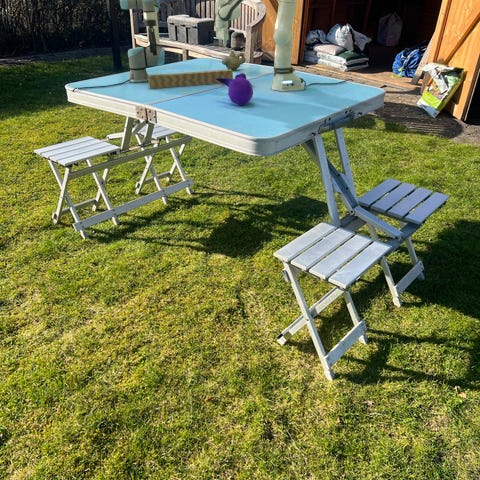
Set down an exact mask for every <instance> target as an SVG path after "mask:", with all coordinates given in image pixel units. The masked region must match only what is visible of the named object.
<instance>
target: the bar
mask: <svg viewBox="0 0 480 480" xmlns="http://www.w3.org/2000/svg"><path fill="white" fill-rule="evenodd" d="M216 78H228V79H234V70H231V69H216V70H214V69H213V70H203V71H189V72H176V73H175V72H174V73H161V74H148V82H147V83H148V88H149V90H157V89H158V90H159V89H169V88H170V89H171V88H182V87H183V88H184V87H197V86H205V85H206V86H207V85H209V86H210V85H219V84H220V85H221V84H222V83H221V82H219V81H218V80H216Z"/></svg>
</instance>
